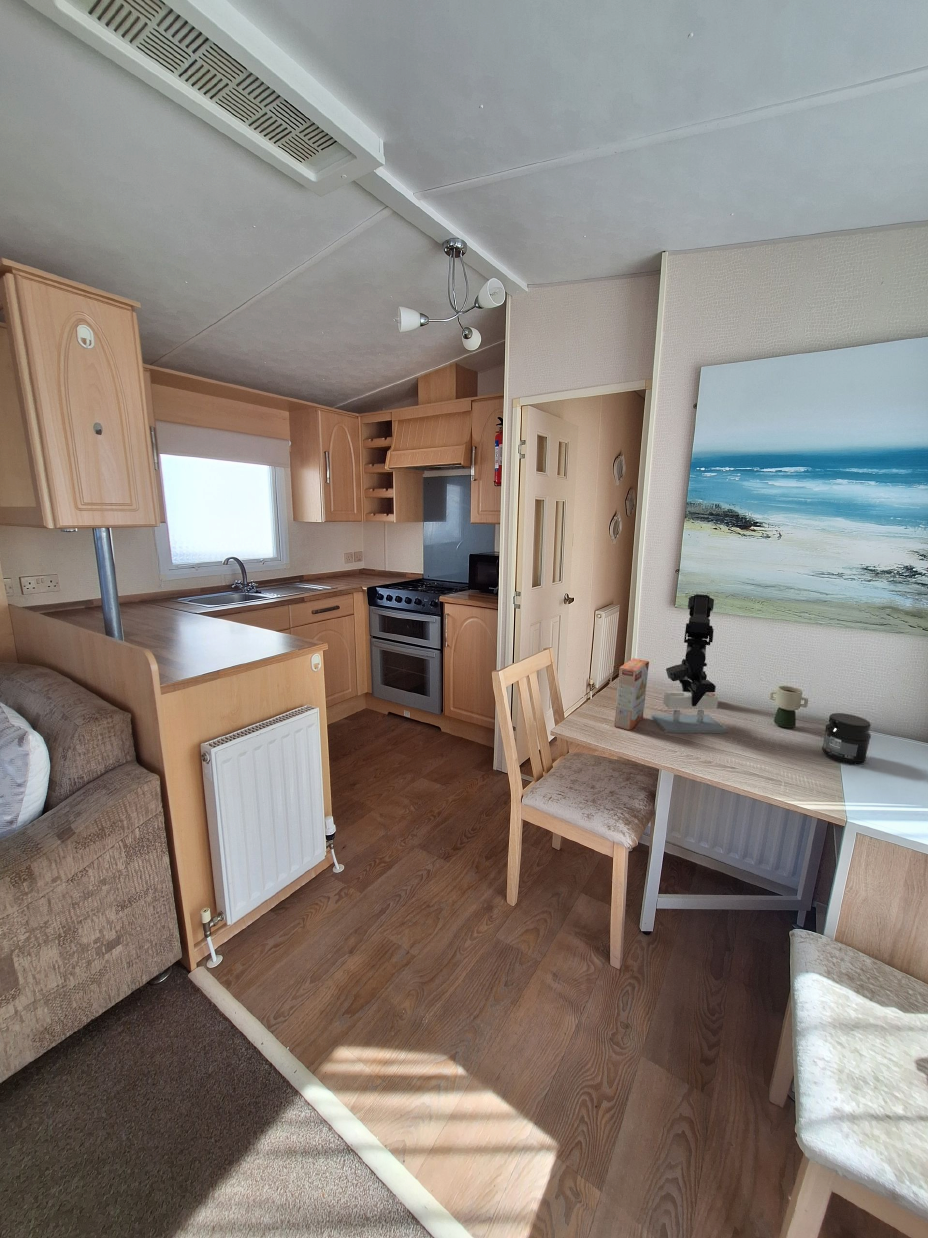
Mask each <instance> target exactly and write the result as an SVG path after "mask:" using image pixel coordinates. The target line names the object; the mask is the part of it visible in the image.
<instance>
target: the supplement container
mask: <svg viewBox="0 0 928 1238" xmlns="http://www.w3.org/2000/svg"><path fill="white" fill-rule="evenodd" d="M871 726H872V724H871V722H870V721H869V720H867V719H866V718H863V717H861V716H858V715H853V714H849V713H843V712H841V713H840V712H835V713H831V714H830V715H829V716H828V723H826V724H825V726H824V728H825V730H824V736H823V742H822V745H821V752H822V753H823V754H824V755H825V757H827V758H829V759H831V760H832V761H835V762H838V763H841V764H845V763H846V764H847V765H853V764H857V765H863V764H864V763H865V762H866V761H867V756H868V749H869V745H870V740H871V738H872V735H871V731H870V730H871Z"/></svg>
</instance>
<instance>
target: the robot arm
mask: <svg viewBox="0 0 928 1238" xmlns="http://www.w3.org/2000/svg"><path fill="white" fill-rule="evenodd" d="M714 603H715V599H714V598H713V597H711V596H710V595H709V594H701V593H700V594H699V593H696V594H694V595H692V596H689V597H688V603H687V610H689V611H688V612H689V613H688V615H689V618H688V623H687V622H686V623H685V630H684V639H683V643H685V644H686V649H685V655H684V658H682V660H681V663H680V664H675V665H672V666H669V667H667V668H665V671H666V675H667V678H668V679H669V680H670V681H672V682H677V681H678V682H679V684H680V685H681V689H682V691H681V692H691V695H692V706H696V705H697V704H698V702H699V701H700V700H701V698H702V697H703V696H704V695H705V693H706V692H711V693H715V692H716V688H717V687H716V686H717V685H715V683H713V682H712V681H710V680H708V679H707V677H708V675H707V673H706V670H704V669H705V667H707V666H708V663H707V662H706V658H707V656H706V655H707V653H706V652H707V651H706V650H707V646H710V647H711V643H713V640H714V631H715V630H714V627H713V625H711V619H710V617H711V613H712V612H714V605H715V604H714Z"/></svg>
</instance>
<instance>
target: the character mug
mask: <svg viewBox="0 0 928 1238" xmlns="http://www.w3.org/2000/svg"><path fill="white" fill-rule="evenodd" d="M774 695H775V697H774ZM769 700H772V701H775V702H774V704H775V706H776V707H778V708H777V709H776V712H775V714H774V719H773V723H775V725H776V726H777V725H778V726H779V727H782V728H793V727H796V723H797V721H796V719H797V718H796V717H797V715H796V713H797V712H796V711H798V710H799V709H800V708H801V707H802V708H807V707H808V704H809V698H808V697H804V696H803V690H802V689H800V688H799V687H794V686H789V685H779V686H777V689H776V690H770V693H769ZM802 701H804V703H803V704H802Z"/></svg>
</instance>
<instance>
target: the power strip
mask: <svg viewBox="0 0 928 1238" xmlns="http://www.w3.org/2000/svg"><path fill="white" fill-rule="evenodd" d="M662 696H663V697H662V704H663V705H664V706H665V707H666V708H667V709H669V710H670V709H671V710H680V709H681V710H682V709H683V710H689V709H690V710H704V709H705V710H717V709H718V703H719V697H718V696H717V695H716V694H715V692H706V693H705V695H704V696H703V697H702V698H701V700H700V701H699V702H698V704H697V705H696V706H692V695H691V692H682V691H663V695H662Z"/></svg>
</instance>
